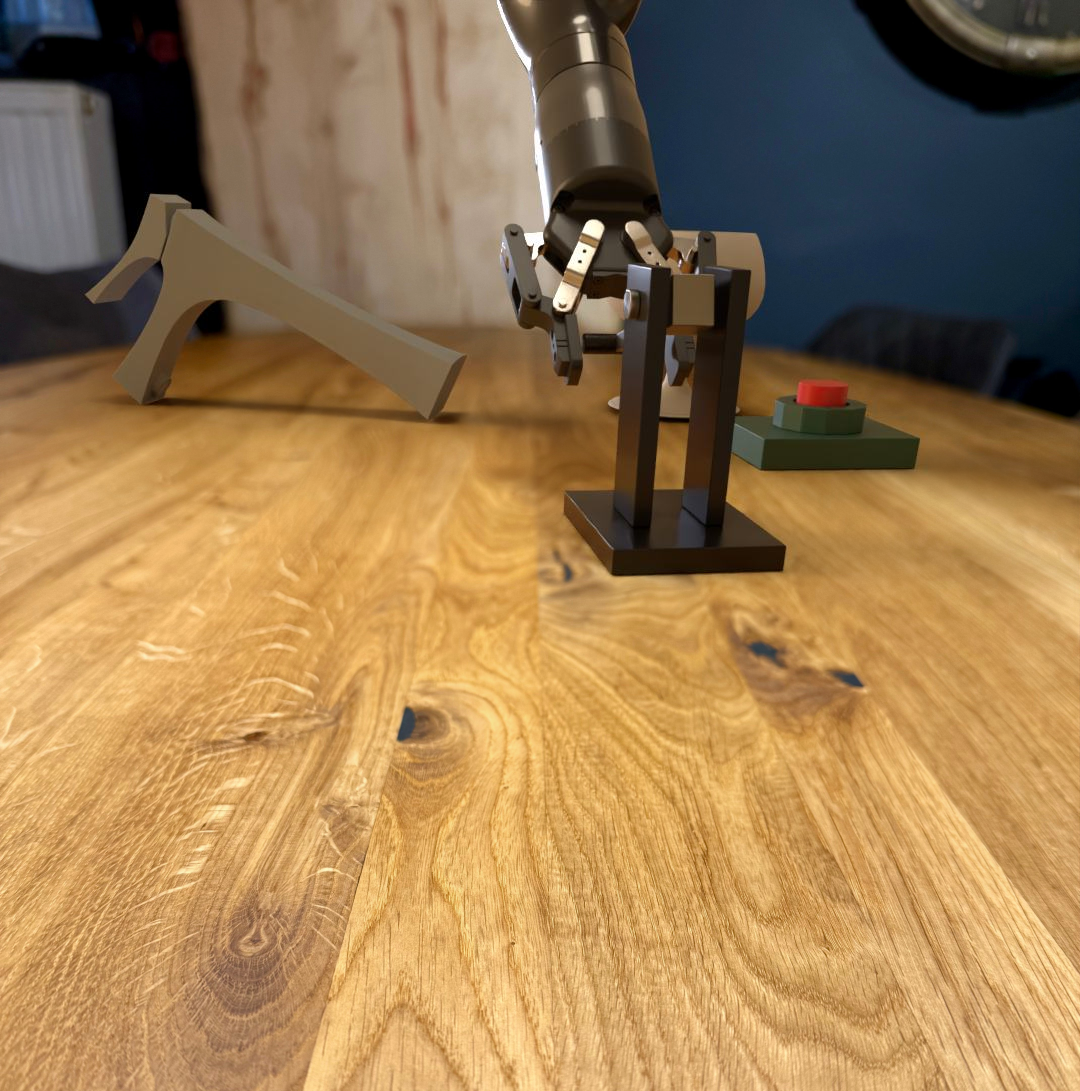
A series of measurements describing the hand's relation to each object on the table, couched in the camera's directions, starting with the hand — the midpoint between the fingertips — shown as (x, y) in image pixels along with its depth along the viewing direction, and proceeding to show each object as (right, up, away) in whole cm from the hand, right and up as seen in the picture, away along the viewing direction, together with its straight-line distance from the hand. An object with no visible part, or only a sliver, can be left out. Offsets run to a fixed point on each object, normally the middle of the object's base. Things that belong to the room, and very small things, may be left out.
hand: (628, 377), depth 62 cm
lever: (+1, 0, -5) cm, 5 cm away
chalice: (+7, +8, +33) cm, 35 cm away
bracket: (+2, -11, -6) cm, 12 cm away
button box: (+15, -1, +16) cm, 22 cm away
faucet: (-28, +6, +28) cm, 40 cm away
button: (+16, +3, +15) cm, 21 cm away
